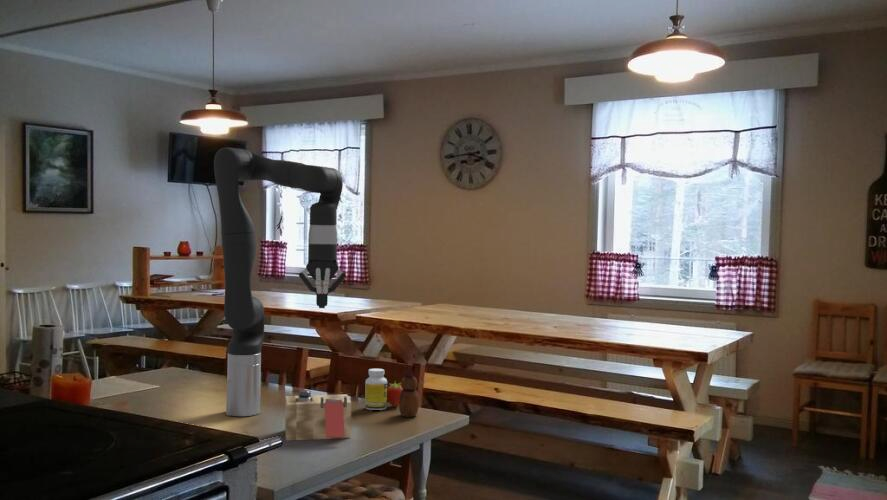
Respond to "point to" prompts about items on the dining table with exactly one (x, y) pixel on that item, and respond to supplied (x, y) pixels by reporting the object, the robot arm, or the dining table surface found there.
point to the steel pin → (304, 395)
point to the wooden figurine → (408, 395)
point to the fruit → (394, 394)
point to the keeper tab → (334, 418)
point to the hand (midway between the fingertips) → (321, 307)
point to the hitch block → (313, 417)
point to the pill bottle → (376, 390)
